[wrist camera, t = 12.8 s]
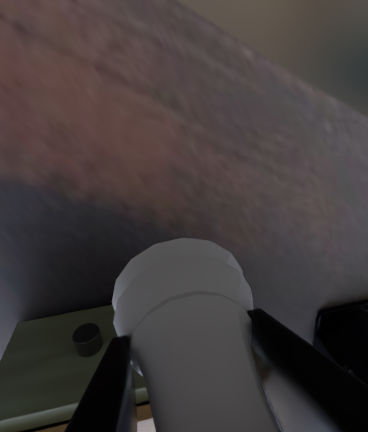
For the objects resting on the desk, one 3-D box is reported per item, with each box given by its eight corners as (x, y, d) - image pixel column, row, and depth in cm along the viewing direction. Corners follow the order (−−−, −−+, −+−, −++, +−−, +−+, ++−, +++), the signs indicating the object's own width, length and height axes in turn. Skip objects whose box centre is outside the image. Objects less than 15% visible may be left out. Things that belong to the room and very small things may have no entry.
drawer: (11, 309, 20) (-41, 413, 14) (167, 280, 21) (184, 362, 15) (66, 428, 26) (47, 537, 20) (184, 400, 28) (202, 493, 21)
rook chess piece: (182, 203, 9) (426, 731, 2) (263, 279, 11) (540, 679, 4) (83, 295, 10) (-39, 934, 2) (175, 351, 11) (260, 802, 4)
